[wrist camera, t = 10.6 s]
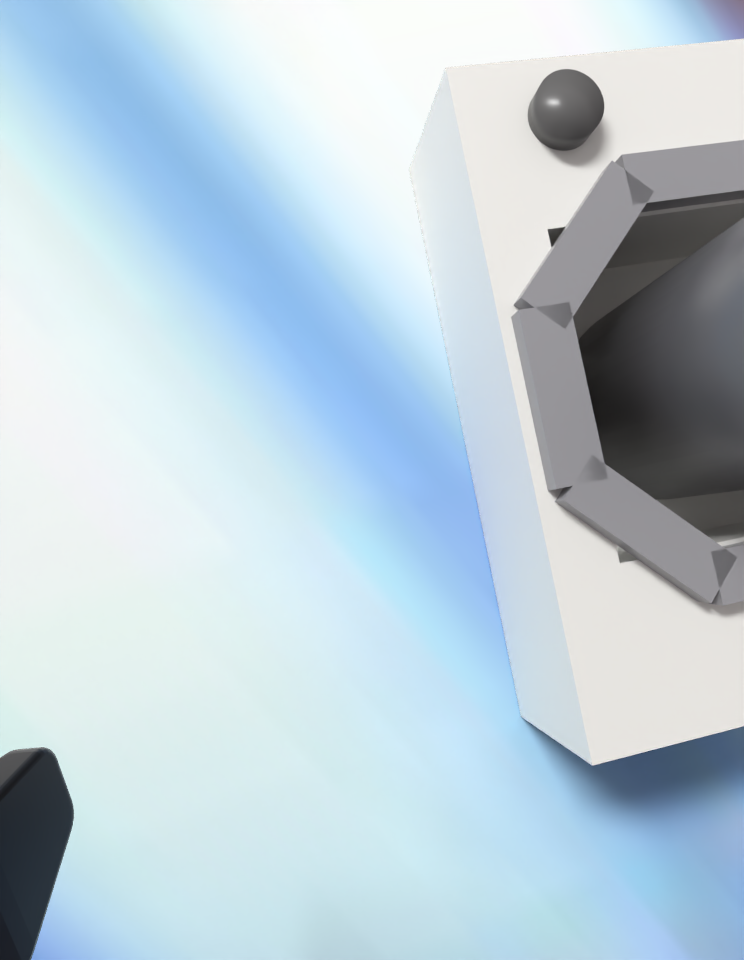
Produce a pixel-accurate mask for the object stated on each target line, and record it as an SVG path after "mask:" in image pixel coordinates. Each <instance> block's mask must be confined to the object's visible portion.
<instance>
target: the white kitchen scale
mask: <svg viewBox="0 0 744 960" xmlns="http://www.w3.org/2000/svg"><path fill="white" fill-rule="evenodd" d="M409 172H410V177H411V182H412V187H413V192H414V197H415V202H416V206H417V211H418V216H419V221H420V226H421V231H422V236H423V241H424V245H425V250H426V255H427V260H428V265H429V270H430V275H431V280H432V285H433V289H434V294H435V299H436V304H437V309H438V314H439V319H440V324H441V328H442V333H443V338H444V343H445V348H446V353H447V358H448V363H449V368H450V372H451V377H452V382H453V387H454V392H455V397H456V402H457V407H458V411H459V416H460V421H461V426H462V431H463V436H464V441H465V446H466V451H467V455H468V460H469V465H470V470H471V475H472V480H473V485H474V490H475V494H476V499H477V504H478V509H479V514H480V519H481V524H482V529H483V534H484V538H485V543H486V548H487V553H488V558H489V563H490V568H491V573H492V577H493V582H494V587H495V592H496V597H497V602H498V607H499V612H500V616H501V621H502V626H503V631H504V636H505V641H506V646H507V651H508V656H509V660H510V665H511V670H512V675H513V680H514V685H515V690H516V695H517V699H518V704H519V709H520V714H521V717H522V718H524V719H525V720H527V721H528V722H530V723H531V724H533V725H534V726H535V727H537V728H538V729H540V730H541V731H543V732H544V733H546V734H547V735H549V736H550V737H551V738H553V739H554V740H556V741H557V742H559V743H560V744H562V745H563V746H565V747H566V748H567V749H569V750H570V751H572V752H573V753H575V754H576V755H578V756H579V757H581V758H582V759H584V760H585V761H586V762H588V763H589V764H591V765H592V766H593V765H597V764H601V763H604V762H608V761H612V760H616V759H620V758H624V757H627V756H631V755H635V754H639V753H643V752H647V751H650V750H654V749H658V748H662V747H666V746H670V745H674V744H677V743H681V742H685V741H689V740H693V739H697V738H700V737H704V736H708V735H712V734H716V733H720V732H723V731H727V730H731V729H735V728H739V727H743V726H744V490H739V491H731V492H723V493H715V494H707V495H699V496H691V497H683V498H674V499H654V498H653V497H651V496H650V495H648V494H647V493H646V492H644V491H643V490H641V489H640V488H638V487H637V486H636V485H634V484H633V483H631V482H630V481H629V480H627V479H626V478H624V477H623V476H621V475H620V474H619V473H617V472H616V471H614V470H613V469H612V468H610V467H609V466H607V465H606V464H605V463H604V458H603V454H602V449H601V444H600V440H599V435H598V430H597V426H596V421H595V417H594V412H593V407H592V403H591V398H590V394H589V389H588V384H587V380H586V375H585V371H584V366H583V361H582V357H581V352H580V348H579V343H578V340H579V339H580V338H581V336H582V335H583V334H584V333H585V332H586V331H587V330H588V329H589V327H591V326H592V325H593V324H594V323H596V322H597V321H598V320H599V319H601V318H602V317H604V316H605V315H606V314H608V313H609V312H611V311H612V310H613V309H615V308H616V307H618V306H619V305H621V304H622V303H623V302H625V301H626V300H628V299H629V298H630V297H632V296H633V295H635V294H636V293H637V292H639V291H640V290H642V289H643V288H645V287H646V286H647V285H649V284H650V283H652V282H653V281H654V280H656V279H657V278H659V277H660V276H662V275H663V274H664V273H666V272H667V271H669V270H670V269H671V268H673V267H674V266H676V265H677V264H679V263H680V262H681V261H683V260H684V259H686V258H687V257H688V256H690V255H691V254H693V253H694V252H696V251H697V250H698V249H700V248H701V247H703V246H704V245H705V244H707V243H708V242H710V241H711V240H712V239H714V238H715V237H717V236H718V235H720V234H721V233H722V232H724V231H725V230H727V229H728V228H729V227H731V226H732V225H734V224H735V223H737V222H738V221H739V220H741V219H742V218H744V39H737V40H727V41H716V42H706V43H696V44H685V45H675V46H665V47H654V48H644V49H634V50H623V51H613V52H603V53H592V54H582V55H572V56H561V57H551V58H541V59H530V60H520V61H510V62H500V63H489V64H479V65H469V66H458V67H448V68H445V71H444V74H443V76H442V79H441V82H440V85H439V87H438V90H437V93H436V96H435V99H434V101H433V104H432V107H431V110H430V112H429V115H428V118H427V121H426V123H425V126H424V129H423V132H422V134H421V137H420V140H419V143H418V146H417V148H416V151H415V154H414V157H413V159H412V162H411V165H410V168H409Z"/></svg>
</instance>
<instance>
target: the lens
mask: <svg viewBox="0 0 744 960" xmlns="http://www.w3.org/2000/svg"><path fill="white" fill-rule="evenodd" d="M578 343H579V348H580V352H581V357H582V361H583V366H584V371H585V375H586V380H587V384H588V389H589V394H590V398H591V403H592V407H593V412H594V417H595V421H596V426H597V430H598V435H599V440H600V444H601V449H602V454H603V458H604V463H605V464H606V465H607V466H609V467H610V468H612V469H613V470H614V471H616V472H617V473H619V474H620V475H621V476H623V477H624V478H626V479H627V480H629V481H630V482H631V483H633V484H634V485H636V486H637V487H638V488H640V489H641V490H643V491H644V492H646V493H647V494H648V495H650V496H651V497H653V498H654V499H674V498H683V497H691V496H699V495H707V494H715V493H723V492H731V491H739V490H744V218H742V219H741V220H739V221H738V222H737V223H735V224H734V225H732V226H731V227H729V228H728V229H727V230H725V231H724V232H722V233H721V234H720V235H718V236H717V237H715V238H714V239H712V240H711V241H710V242H708V243H707V244H705V245H704V246H703V247H701V248H700V249H698V250H697V251H696V252H694V253H693V254H691V255H690V256H688V257H687V258H686V259H684V260H683V261H681V262H680V263H679V264H677V265H676V266H674V267H673V268H671V269H670V270H669V271H667V272H666V273H664V274H663V275H662V276H660V277H659V278H657V279H656V280H654V281H653V282H652V283H650V284H649V285H647V286H646V287H645V288H643V289H642V290H640V291H639V292H637V293H636V294H635V295H633V296H632V297H630V298H629V299H628V300H626V301H625V302H623V303H622V304H621V305H619V306H618V307H616V308H615V309H613V310H612V311H611V312H609V313H608V314H606V315H605V316H604V317H602V318H601V319H599V320H598V321H597V322H596V323H594V324H593V325H592V326H591V327H589V329H588V330H587V331H586V332H585V333H584V334H583V335H582V336H581V338H580V339H579V340H578Z"/></svg>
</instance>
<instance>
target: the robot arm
mask: <svg viewBox="0 0 744 960" xmlns="http://www.w3.org/2000/svg"><path fill="white" fill-rule="evenodd" d="M73 819H74V809H73V803H72V800H71V797H70V794H69V791H68V789H67V786H66V783H65V780H64V778H63V775H62V772H61V769H60V766H59V764H58V761H57V758H56V756H55V754H54V753H53V752H52V751H51V750H50V749H48V748H44V747H40V748H29V749H18V750H13V751H11V752H8V753H7V754H5V755H4V756H2V757H1V758H0V960H31V958H32V955H33V952H34V949H35V946H36V943H37V940H38V936H39V933H40V930H41V927H42V923H43V920H44V917H45V914H46V910H47V907H48V904H49V901H50V898H51V894H52V891H53V888H54V885H55V881H56V878H57V875H58V872H59V868H60V865H61V862H62V859H63V855H64V852H65V849H66V846H67V843H68V839H69V836H70V833H71V829H72V825H73Z"/></svg>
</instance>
